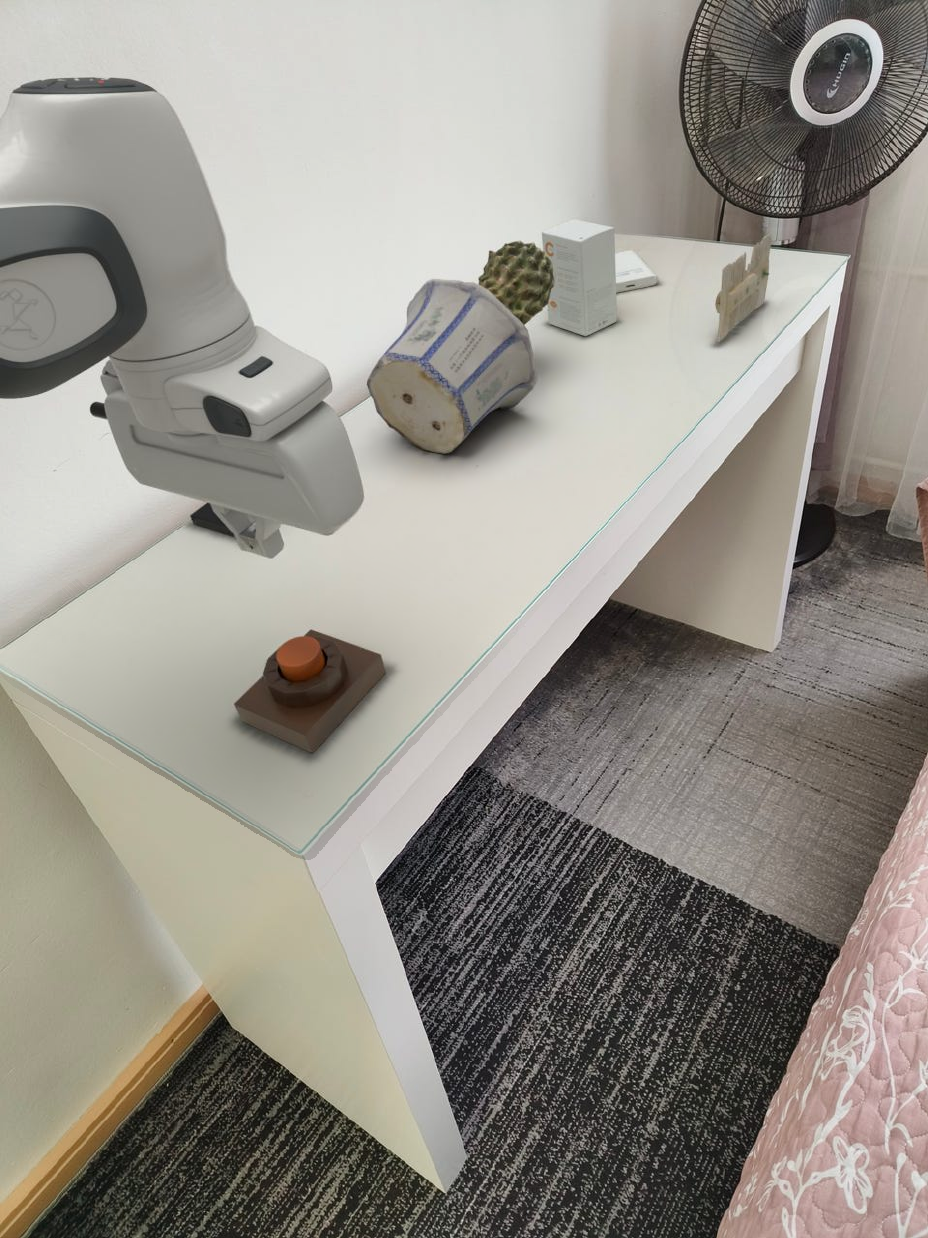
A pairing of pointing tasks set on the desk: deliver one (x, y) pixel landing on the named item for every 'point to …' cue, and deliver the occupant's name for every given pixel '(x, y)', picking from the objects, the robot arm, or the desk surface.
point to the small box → (581, 276)
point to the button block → (311, 694)
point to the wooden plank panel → (743, 287)
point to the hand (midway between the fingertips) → (263, 549)
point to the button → (300, 658)
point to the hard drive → (632, 272)
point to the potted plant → (463, 350)
